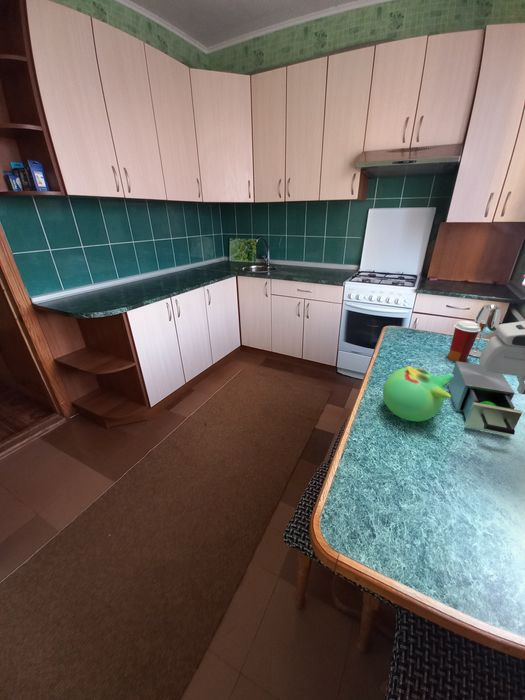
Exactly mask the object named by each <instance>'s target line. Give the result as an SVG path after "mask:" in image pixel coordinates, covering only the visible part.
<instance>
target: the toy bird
mask: <svg viewBox="0 0 525 700" xmlns="http://www.w3.org/2000/svg"><path fill="white" fill-rule="evenodd" d="M453 377H454V375H453V374H452V373H445V374H442V375H438V376H435V375H434V373H431V372H430V371H428V370H426V369H423V368H420V367H416V366H415V367H414V366H410V365H407V366H406V367H401V368H398V369H396V370H395V371H393V372H392V373H391V374H390V375H389V376H388V377H387V378H386V380H385V382H384V384H383V388H382V398H383V401H384V404H385V405H386V407H387V409H388V410H389V411H390V412H391V413H393V414H394V415H395V416H397V417H398V418H400V419H403V420H405V421H410V422H424V421H428V420H429V419H431V418H433V417H435V416H436V415H438V413H439V412H440V410H441V408H442V407H443V405H444V403H445V402H444V401H445V399H452V396H451V393H450V392H448V391H446V390H445V389H444V388H445V387H446V386H448V384H449V382H450V381H451V380H452V378H453Z"/></svg>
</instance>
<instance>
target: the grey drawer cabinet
mask: <svg viewBox="0 0 525 700" xmlns="http://www.w3.org/2000/svg"><path fill="white" fill-rule="evenodd" d="M451 374H453V375H454V377H453V378H452V380H451V381H450V382H449V383H448V384H447V387H448V390H449V394H450V395H451V399H452V403H453V405H454V409H455V412H458V413H464V412H463V409H462V407H461V405H462V402H463V400H464V397H465V394H466V392H467V389H468V388H474V389H480V390H486V391H492V392H498V393H504V394H507V395H508V397H509V399H510V400H511V401H512V399H513V398H514V395H515V391H514V390H513V388H512V386H511V385H510V384H509V382H508V380H507V379H506V377H505V374H500V373H493V372H487V371H484V370H483V368H482V367H481V365H480V363H479V364H478V363H473V362H472V363H471V362H466V361H465V362H458V361H456V362H454V366H453V369H452V371H451Z"/></svg>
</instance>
